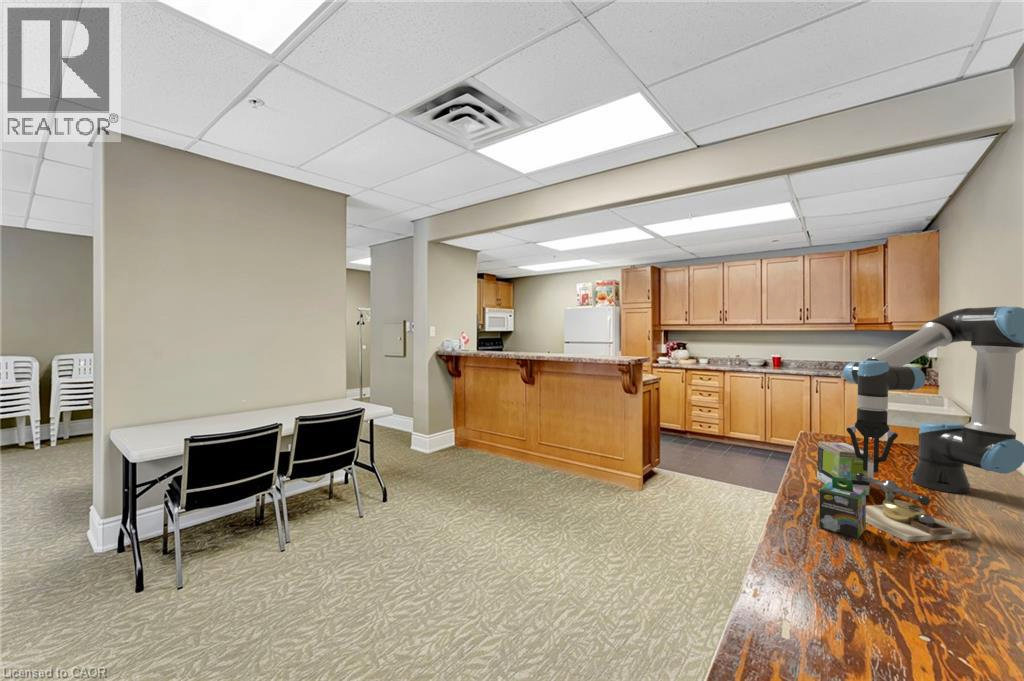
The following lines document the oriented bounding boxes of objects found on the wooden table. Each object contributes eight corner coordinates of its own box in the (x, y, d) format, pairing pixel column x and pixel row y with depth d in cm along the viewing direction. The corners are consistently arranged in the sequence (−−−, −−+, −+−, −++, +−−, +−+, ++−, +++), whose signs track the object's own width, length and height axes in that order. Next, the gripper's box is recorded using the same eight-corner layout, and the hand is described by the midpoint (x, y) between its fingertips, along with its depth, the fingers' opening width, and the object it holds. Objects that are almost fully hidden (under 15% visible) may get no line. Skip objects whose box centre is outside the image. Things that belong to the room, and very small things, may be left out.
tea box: (870, 496, 145) (872, 453, 145) (837, 493, 147) (838, 451, 147) (845, 480, 160) (846, 441, 160) (815, 478, 162) (816, 440, 162)
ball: (924, 523, 121) (925, 511, 121) (938, 529, 117) (938, 516, 117) (913, 524, 120) (914, 511, 120) (927, 530, 117) (927, 517, 117)
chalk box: (866, 529, 121) (867, 478, 120) (858, 540, 115) (860, 485, 115) (826, 518, 128) (828, 469, 128) (817, 527, 122) (819, 476, 122)
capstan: (843, 497, 139) (844, 470, 139) (868, 496, 140) (869, 469, 140) (914, 528, 118) (915, 495, 117) (942, 526, 119) (943, 494, 119)
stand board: (899, 508, 135) (899, 499, 135) (972, 538, 116) (972, 527, 116) (843, 511, 133) (843, 502, 133) (908, 542, 114) (908, 531, 113)
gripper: (898, 409, 135) (896, 482, 136) (846, 404, 144) (845, 473, 144) (900, 413, 130) (897, 489, 130) (845, 407, 138) (844, 479, 139)
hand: (870, 481), depth 137 cm, fingers closed
